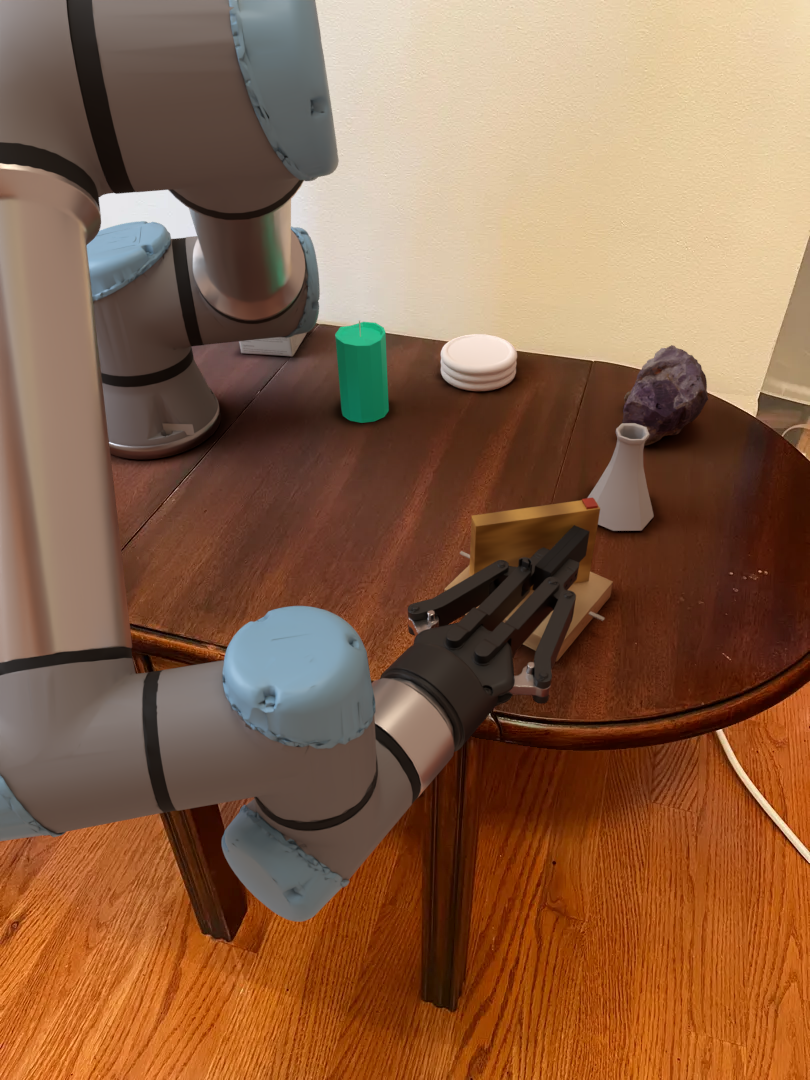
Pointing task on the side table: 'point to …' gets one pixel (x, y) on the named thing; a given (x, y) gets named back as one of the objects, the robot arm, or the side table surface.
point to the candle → (362, 371)
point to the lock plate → (586, 607)
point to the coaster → (478, 362)
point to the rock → (666, 394)
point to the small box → (272, 345)
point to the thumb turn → (531, 533)
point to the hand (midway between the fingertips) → (579, 540)
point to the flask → (625, 483)
